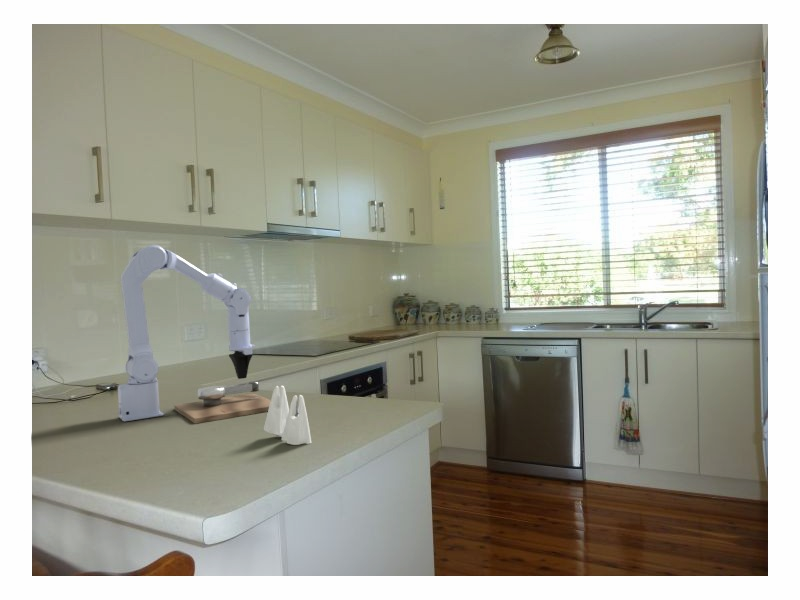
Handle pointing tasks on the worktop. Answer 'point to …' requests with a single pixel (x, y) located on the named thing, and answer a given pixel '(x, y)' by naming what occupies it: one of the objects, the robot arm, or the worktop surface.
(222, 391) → the grey lever with knob
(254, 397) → the post board
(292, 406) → the white slotted stand
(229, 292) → the robot arm
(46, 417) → the worktop surface
